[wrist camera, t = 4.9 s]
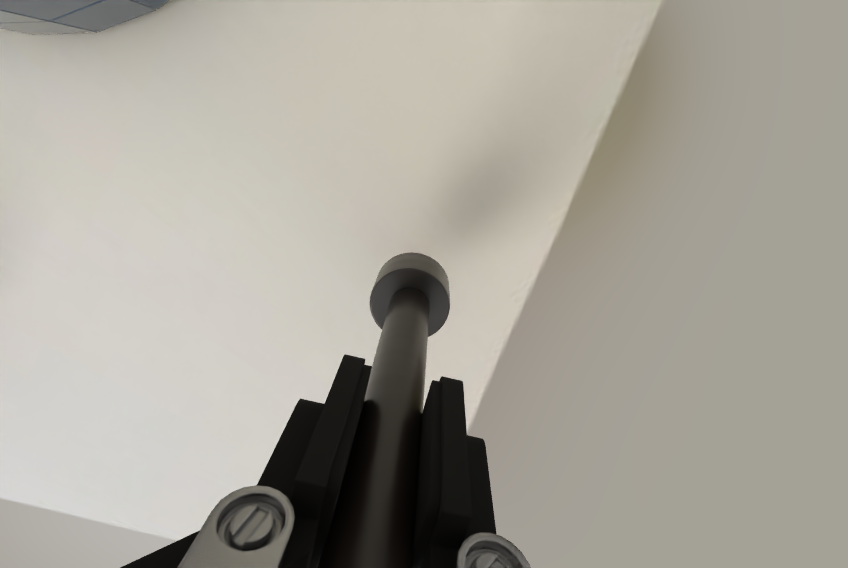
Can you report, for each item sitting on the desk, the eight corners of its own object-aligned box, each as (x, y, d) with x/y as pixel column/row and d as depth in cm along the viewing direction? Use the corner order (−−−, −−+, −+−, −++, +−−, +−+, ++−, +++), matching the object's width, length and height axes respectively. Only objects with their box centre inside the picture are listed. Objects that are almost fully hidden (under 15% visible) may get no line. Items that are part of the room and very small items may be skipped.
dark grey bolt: (457, 261, 18) (492, 629, 5) (439, 326, 20) (431, 750, 7) (384, 244, 18) (242, 580, 5) (370, 310, 19) (226, 714, 7)
